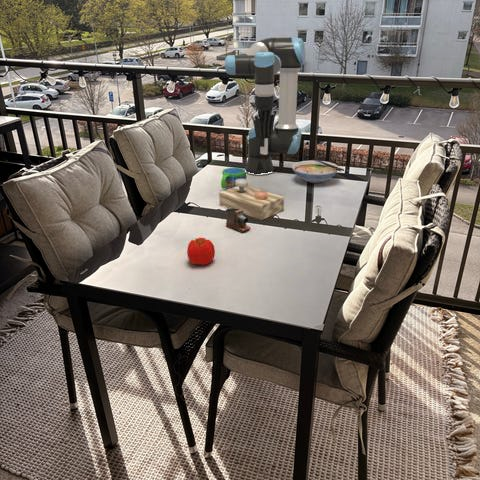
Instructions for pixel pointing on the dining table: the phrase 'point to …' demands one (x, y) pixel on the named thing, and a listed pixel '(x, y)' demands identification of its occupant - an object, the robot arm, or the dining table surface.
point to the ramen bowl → (315, 170)
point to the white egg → (241, 184)
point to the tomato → (200, 251)
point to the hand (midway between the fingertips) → (264, 153)
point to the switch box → (252, 202)
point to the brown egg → (260, 194)
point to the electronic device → (237, 220)
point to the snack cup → (232, 177)
